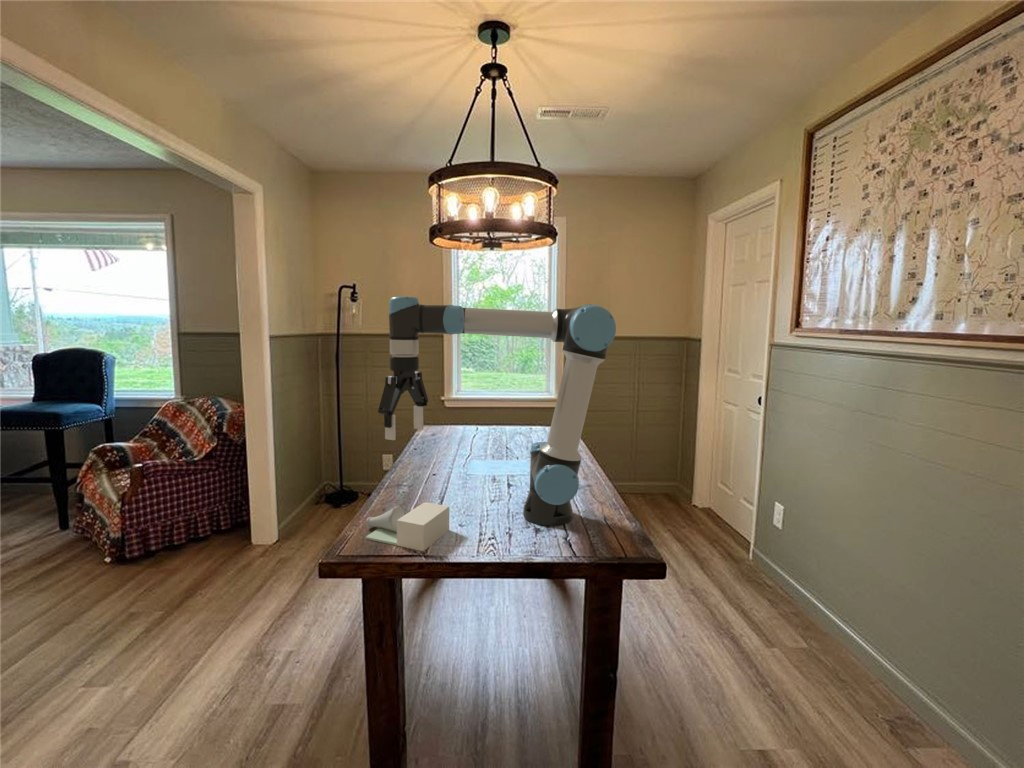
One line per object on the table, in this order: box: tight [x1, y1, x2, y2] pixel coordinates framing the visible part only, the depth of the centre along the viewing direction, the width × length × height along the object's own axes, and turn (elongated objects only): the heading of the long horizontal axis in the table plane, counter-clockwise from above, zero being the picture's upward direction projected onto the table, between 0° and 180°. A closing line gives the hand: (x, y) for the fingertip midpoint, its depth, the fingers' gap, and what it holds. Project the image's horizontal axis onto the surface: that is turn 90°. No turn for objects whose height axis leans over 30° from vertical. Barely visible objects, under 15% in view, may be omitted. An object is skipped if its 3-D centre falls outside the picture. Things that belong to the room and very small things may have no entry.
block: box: [396, 501, 450, 552], centre depth 132 cm, size 8×14×7 cm, turn 159°
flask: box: [365, 504, 406, 533], centre depth 136 cm, size 7×7×10 cm
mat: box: [365, 527, 397, 546], centre depth 135 cm, size 10×14×1 cm
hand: (405, 434), depth 131 cm, fingers open, 13 cm apart
